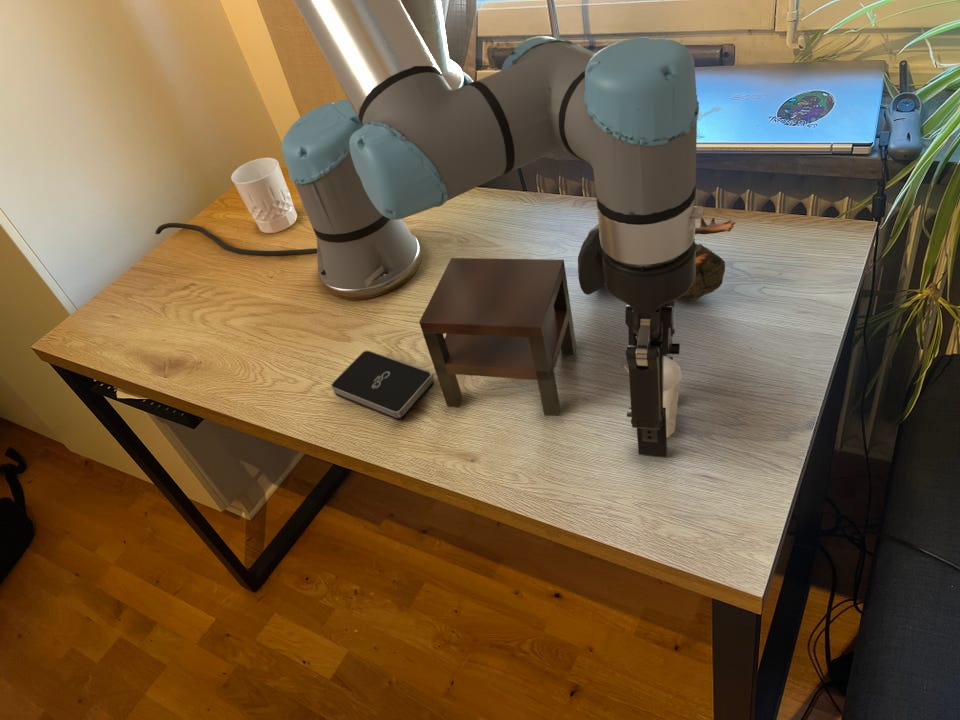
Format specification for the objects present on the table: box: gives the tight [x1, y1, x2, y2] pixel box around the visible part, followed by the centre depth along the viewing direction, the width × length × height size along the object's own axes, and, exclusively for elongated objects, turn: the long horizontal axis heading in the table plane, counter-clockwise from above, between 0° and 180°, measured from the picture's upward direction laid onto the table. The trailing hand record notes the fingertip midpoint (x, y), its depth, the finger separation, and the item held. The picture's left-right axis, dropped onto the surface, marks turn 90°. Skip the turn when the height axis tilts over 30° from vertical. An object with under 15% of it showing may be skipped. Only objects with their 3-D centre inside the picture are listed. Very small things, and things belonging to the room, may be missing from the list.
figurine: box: [577, 217, 736, 302], centre depth 87 cm, size 14×10×18 cm
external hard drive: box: [330, 349, 435, 422], centre depth 85 cm, size 7×11×2 cm, turn 56°
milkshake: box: [623, 356, 683, 439], centre depth 71 cm, size 4×5×10 cm
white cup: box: [230, 157, 298, 234], centre depth 118 cm, size 8×8×10 cm
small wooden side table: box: [418, 257, 577, 417], centre depth 79 cm, size 13×11×13 cm
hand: (656, 426), depth 74 cm, fingers open, 6 cm apart
